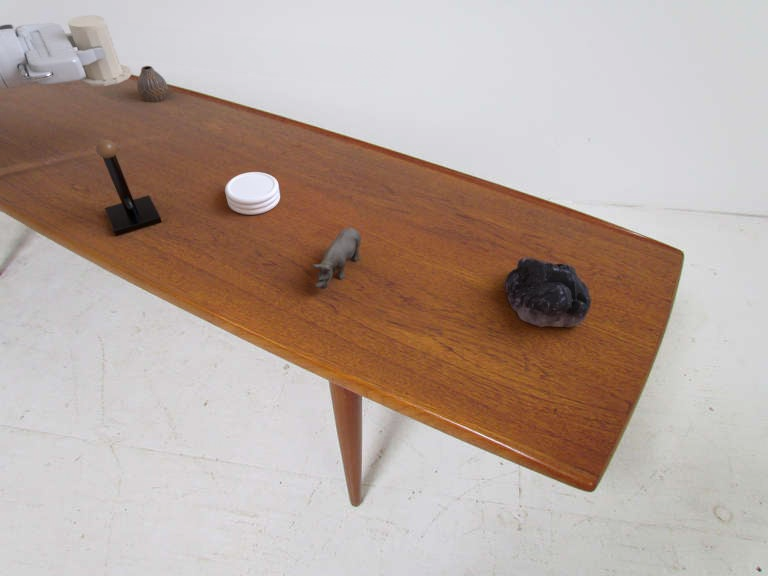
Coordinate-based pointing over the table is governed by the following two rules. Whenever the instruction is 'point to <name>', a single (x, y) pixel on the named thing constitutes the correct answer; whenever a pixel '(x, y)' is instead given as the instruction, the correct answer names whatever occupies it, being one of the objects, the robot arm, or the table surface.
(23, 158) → the table surface
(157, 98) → the vase
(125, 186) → the stand
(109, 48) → the hat
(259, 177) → the white round stack
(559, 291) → the crystal cluster
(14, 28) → the robot arm
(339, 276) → the rhino figurine
